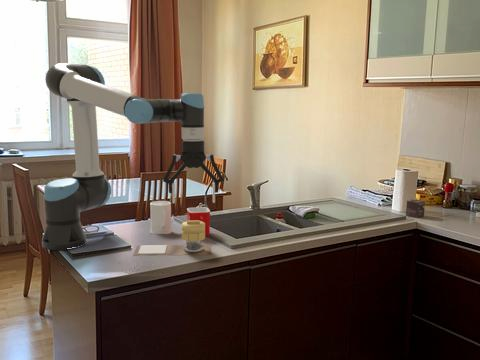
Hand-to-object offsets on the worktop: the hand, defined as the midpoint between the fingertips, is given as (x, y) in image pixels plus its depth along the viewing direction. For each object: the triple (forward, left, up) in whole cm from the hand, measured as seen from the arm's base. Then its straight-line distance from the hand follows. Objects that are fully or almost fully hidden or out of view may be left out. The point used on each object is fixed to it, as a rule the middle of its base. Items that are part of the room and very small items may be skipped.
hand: (193, 202), depth 162 cm
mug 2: (+2, +18, -18) cm, 26 cm away
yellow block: (0, 0, -13) cm, 13 cm away
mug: (-13, +25, -18) cm, 34 cm away
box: (+102, +49, -18) cm, 114 cm away
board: (-7, 0, -18) cm, 19 cm away
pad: (-14, 0, -17) cm, 22 cm away
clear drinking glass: (0, 0, -17) cm, 17 cm away
